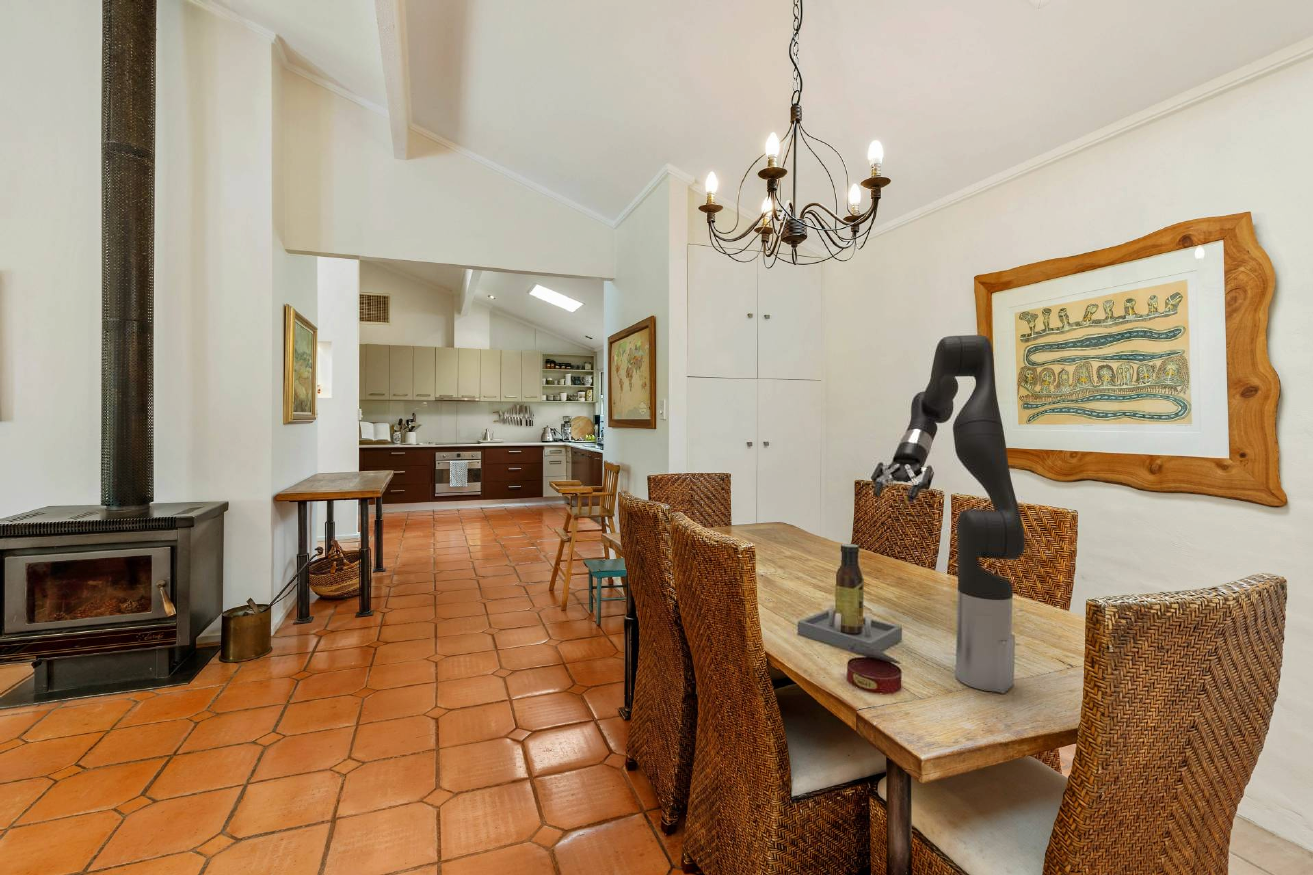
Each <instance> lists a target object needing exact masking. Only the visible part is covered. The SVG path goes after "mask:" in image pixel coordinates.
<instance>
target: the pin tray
mask: <svg viewBox="0 0 1313 875" xmlns="http://www.w3.org/2000/svg"><path fill="white" fill-rule="evenodd" d="M799 634H800V635H799ZM797 635H799V636H803V637H806V638H807V639H808V638H809V639H811V640H814V641H818V642H821V643H824V644H827V645H830V646H834V647H837V648H839V649H843V650H846V651H848V650H847V646H848V644H850V643H851V642H855V643H862V644H866V645H869V646H871V647H873V648H875V649H876V650H879V651H881V652H883V651H885V650H887V649H888V648H890V647H892V646H894V645H895V644H897V643H899V642H901V641H903V627H902V626H900V625H895V624H893V623H888V622H885V621H881V620H877V619H875V618H874V619H873V618H872V614H871V613H865V616H863V628H862V632H860V633H856V634H848V633H843V632H841V614H840V613H836V614H835V604H834V603H829V604H828V609H826V610H822V611H821V612H818V613H816V614H812V615H810V616H809V617H805V618H803V619H800V620H798V621H797Z"/></svg>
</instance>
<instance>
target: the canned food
mask: <svg viewBox="0 0 1313 875" xmlns="http://www.w3.org/2000/svg"><path fill="white" fill-rule="evenodd" d="M846 651H848V652H850V653H852V654H856V655H859V656H858V657H854V658H851V659H849V660H848V661H847V664H846V665H847V667H846V681H847V682H848V683H849V685H851V684H852V685H851V686H853V687H854V686H855V687H854V688H856V687H857V688H856V689H858V688H859V689H858V690H860V689H861V690H860V691H863V692H868V693H871V694H878V693H879V694H880V693H882V694H880V695H890V694H889V693H891V694H896V693H898V692H899V691H900V690H901V689H902V675H903V670H902V669H901V667H900V666H899V665H897V664H900V665H901V664H902V662H900V661H899V660H897V659H895V658H894V657H893V656H890V655H888V654H886V653H885V652H883V651H879V650H876V649H875V648H873V647H871V646H869V645H866V644H862V643H855V642H851V643H850V644H848V646H847V650H846ZM897 691H898V692H897ZM879 694H878V695H879Z"/></svg>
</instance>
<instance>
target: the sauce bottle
mask: <svg viewBox="0 0 1313 875" xmlns="http://www.w3.org/2000/svg"><path fill="white" fill-rule="evenodd" d="M840 552H841V560H840V562H841V563H840V566H839V568H838V569H837V571H836V574H835V594H834V595H835V597H834V598H835V600H834V601H835V604H834V609H835V614H836V613H840V614H841V632H843V633H848V634H856V633H860V632H862V628H863V617H864V603H865V602H864V599H865V598H864V596H865V595H864V594H865V593H864V592H865V590H864V588H865V586H864V585H865V584H864V583H865V580H864V577H863V574H862V570H861V568H860V565H859V553H860V546H859V544H858V545H857V544H855V543H853V544H852V543H842V544H841V545H840Z"/></svg>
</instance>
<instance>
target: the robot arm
mask: <svg viewBox="0 0 1313 875" xmlns="http://www.w3.org/2000/svg"><path fill="white" fill-rule="evenodd" d="M994 361H995V360H994V351H993V346H992V342H991V341H990V339H989V338H988V336H986V335H979V334H973V335H972V334H968V335H949V336H945V337H943V338H941V339H940V340H939V342H938V343H937V345H936V348H935V353H934V356H933V361H932V368H931V373H930V379H929V382H928V384H927V386H926V388H925V390H923V391H919V392H917V393H916V394H915V395H914V397H913V399H912V401H911V406H910V421H909V424H908V426H907V429H906V431H905V434H904V435H903V436H902V438H901V439H900V442H899V444H898V446H897V448H896V450H895V452H894V455H893V457H892V461H891V463H890V464H888V465H887V464H884V463H883V461H882V462H881V461H880V462H878V463H877V465H876V467H875V469H874V472H873V473H872V475H871V476H870V479H871V481H872V483H873V485H874V487H873V489H872V493H873V496H874V497H875V498H876V499H880V497H881V495H882V493H883V490H884V487H886V486H887V485H891V484H893V483H895V482H898V483H899V482H901V483H902V482H904V483H909V482H911V483H912V484H911V486H910V488H909V491H908V494H907V495H906V496H907V500H908V502H910V503H912V502H913V503H914V501H915V500H917V497H918V495H919V493H920V492H921V490H925V491H928V490H929V489H930V487H931V485H932V481H933V478H934V476H935V472H934V469H933V466H932V465H927V466H926V467H925V464H926V462H927V459H928V457H929V454H930V452H931V449H932V445H933V442H934V439H935V437H936V435H937V433H938V424H945V423H947V422H948V421H949V420H950V419H951V417H952V416H953V412H954V408H955V407H954V406H955V404H954V399H955V397H956V396H957V393H958V390H959V382H958V380H957V378H956V377H973V378H974V380H975V385H974V388H973V391H972V393H971V395H970V396H969V398H968V399H967V401H966V402H965V403H964V404H963V406H962V407H961V409H960V411H958V412H959V413H958V414H957V415H956V418H955V419H954V421H953V424H952V431H953V432H952V433H953V442H954V450H955V453H956V457H957V458H958V460H959V461H960V462H961V464H962V465H963V467H964V468H965V469H966V470H967V471H968V473H970V475H972V476H973V477H974V478H975V480H976V481H977V482H978V483H979V484H980V485H981V486H982V487H983V489H984V490H985V492H986V493H987V496H988V497H989V499H990V501H991V502H990V503H991V504H992V506H993V507H992V508H993V509H976V508H975V509H972V508H970V509H969V508H968V509H963V510H961V512H959V515H958V518H957V521H956V548H957V549H956V550H957V602H956V606H957V608H956V610H957V611H956V642H955V643H956V644H955V645H956V646H955V677H956V679H957V680H958V681H959V682H961V683H962V684H963V685H966V686H968V687H971V688H974V689H978V690H981V691H985V692H986V691H987V692H997V693H1000V694H1005V693H1006V692H1007V691H1008V690H1009V689H1011V687H1013V686H1014V684H1015V661H1016V660H1015V657H1016V655H1015V654H1016V653H1015V652H1016V650H1015V649H1016V635H1014V634H1013V633H1012V629H1013V602H1014V601H1013V595H1014V588H1013V587H1014V585H1013V583H1012V581H1010V580H1009V579H1007V578H1006V577H1004V576H1002V575H999V574H996V573H994V572H992V571H989V570H987V569H986V568H984V567H982V566H981V563H980V561H981V560H980V559H992V560H993V559H995V560H1017V559H1019V558H1021V557H1022V555H1023V554H1024V551H1025V546H1026V542H1025V541H1026V536H1025V529H1024V525H1023V524H1024V523H1023V520H1022V515H1021V512H1020V509H1019V508H1020V507H1019V505H1018V500H1017V497H1016V494H1015V489H1014V487H1013V482H1012V478H1011V472H1010V467H1009V460H1008V452H1007V444H1006V443H1007V442H1006V436H1005V432H1004V426H1003V422H1002V416H1001V413H1000V407H999V403H998V402H999V401H998V394H997V388H996V377H995V376H996V375H995V362H994ZM922 474H923V477H922V479H921V481H918V477H919V476H920V475H922ZM890 476H891V477H890Z"/></svg>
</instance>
